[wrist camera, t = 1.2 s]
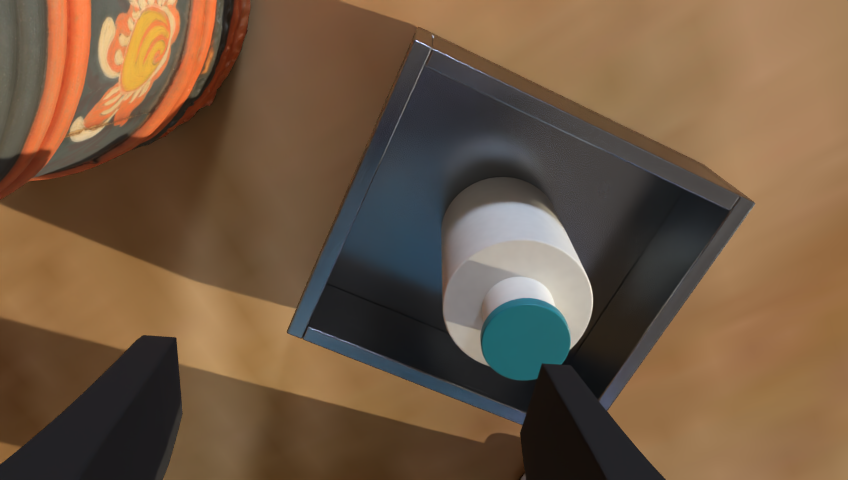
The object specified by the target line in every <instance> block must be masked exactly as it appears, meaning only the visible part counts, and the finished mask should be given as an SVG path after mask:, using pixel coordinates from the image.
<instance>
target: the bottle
mask: <svg viewBox="0 0 848 480" xmlns="http://www.w3.org/2000/svg"><path fill="white" fill-rule="evenodd" d="M441 247H442V304H443V318H444V322H445V325H446V328H447V331H448V333H449V335H450V337H451V338H452V339H453V341H454V342H455V344H456V345H457V346H458V347H459V348H460V349H461V350H462V351H463V352H464V353H466V354H467V355H468V356H469V357H471V358H473V359H474V360H476V361H478V362H480V363H482V364H484V365H487V366H490V367H491V368H492V369H493V370H494V371H496V372H497V373H499V374H500V375H502V376H504V377H507V378H510V379H514V380H534V379H537V378H538V374H539V371H540V368H541V365H542V363H544V364H559V365H561V364H562V363H563V362H564V360H565V359H566V357H567V355H568V353H569V350H570V349H571V348H572V347H573V346H574V345H575V344H576V343H577V342H578V340H579V339H580V338H581V336H582V335H583V333H584V332H585V330H586V328H587V326H588V323H589V321H590V318H591V314H592V308H593V293H592V288H591V284H590V282H589V279H588V276H587V274H586V272H585V270H584V268H583V266H582V264H581V262H580V260H579V258H578V256H577V254H576V252H575V250H574V248H573V245H572V243H571V241H570V239H569V237H568V235H567V233H566V231H565V229H564V227H563V225H562V223H561V221H560V219H559V217H558V215H557V213H556V210H555V208H554V207H553V205H552V203H551V201H550V200H549V199H548V197H547V196H546V195H545V194H544V193H543V192H542V191H541V190H540V189H538V188H537V187H535V186H534V185H532V184H530V183H528V182H526V181H523V180H521V179H516V178H511V177H494V178H488V179H484V180H481V181H479V182H476V183H474V184H472V185H470V186H469V187H467V188H466V189H464V190H463V191H462V192H460V193H459V194H458V195H457V196H456V197H455V198H454V200H453V201H452V202H451V204H450V205H449V207H448V209H447V210H446V213H445V215H444V218H443V222H442V228H441Z"/></svg>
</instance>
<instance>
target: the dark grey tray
mask: <svg viewBox="0 0 848 480" xmlns="http://www.w3.org/2000/svg"><path fill="white" fill-rule="evenodd" d="M494 177H511V178H516V179H521V180H523V181H526V182H528V183H530V184H532V185H534V186H535V187H537V188H538V189H540V190H541V191H542V192H543V193H544V194H545V195H546V196H547V197H548V199H549V200H550V201H551V203H552V205H553V207H554V208H555V210H556V213H557V215H558V217H559V219H560V221H561V223H562V225H563V227H564V229H565V231H566V233H567V235H568V237H569V239H570V241H571V243H572V245H573V248H574V250H575V252H576V254H577V256H578V258H579V260H580V262H581V264H582V266H583V268H584V270H585V272H586V274H587V276H588V279H589V282H590V284H591V288H592V293H593V308H592V314H591V318H590V321H589V323H588V326H587V328H586V330H585V332H584V333H583V335H582V336H581V338H580V339H579V340H578V342H577V343H576V344H575V345H574V346H573V347H572V348H571V349H570V350H569V353H568V355H567V357H566V359H565V360H564V362H563V363H562V364H561V365H571V366H572V367H573V369H574V370H575V371H576V372H577V374H578V375H579V376H580V378H581V379H582V380H583V381H584V383H585V384H586V385H587V387H588V388H589V389H590V390H591V392H592V393H593V394H594V395H595V397H596V398H597V399H598V401H599V402H600V403H601V404H602V406H603V407H604V408H605V409H606V411H607V410H608V409H609V408H610V406H611V405H612V403H613V402H614V401H615V399H616V398H617V396H618V395H619V394H620V392H621V391H622V389H623V388H624V387H625V385H626V384H627V383H628V381H629V380H630V378H631V377H632V376H633V374H634V373H635V371H636V370H637V369H638V367H639V366H640V364H641V363H642V362H643V360H644V359H645V357H646V356H647V355H648V353H649V352H650V350H651V349H652V348H653V346H654V345H655V343H656V342H657V341H658V339H659V338H660V336H661V335H662V334H663V332H664V331H665V329H666V328H667V327H668V325H669V324H670V322H671V321H672V320H673V318H674V317H675V315H676V314H677V313H678V311H679V310H680V308H681V307H682V306H683V304H684V303H685V301H686V300H687V299H688V297H689V296H690V294H691V293H692V292H693V290H694V289H695V287H696V286H697V285H698V283H699V282H700V280H701V279H702V278H703V276H704V275H705V273H706V272H707V271H708V269H709V268H710V266H711V265H712V264H713V262H714V261H715V259H716V258H717V257H718V255H719V254H720V252H721V251H722V250H723V248H724V247H725V245H726V244H727V243H728V241H729V240H730V239H731V237H732V236H733V234H734V233H735V232H736V230H737V229H738V227H739V226H740V225H741V223H742V222H743V220H744V219H745V218H746V216H747V215H748V213H749V212H750V211H751V209H752V208H753V206H754V205H755V203H754V202H753V201H752V200H751V199H749V198H748V197H747V196H745V195H744V194H743V193H741V192H740V191H739V190H737V189H736V188H735V187H733V186H732V185H731V184H729V183H728V182H727V181H725V180H724V179H723V178H721V177H720V176H719V175H717V174H716V173H714V172H713V171H712V170H711V169H709V168H708V167H707V166H705V165H704V164H701V163H699V162H697V161H695V160H693V159H691V158H689V157H687V156H685V155H683V154H681V153H679V152H677V151H675V150H673V149H670V148H668V147H666V146H664V145H662V144H660V143H658V142H656V141H654V140H652V139H650V138H648V137H646V136H644V135H642V134H639V133H637V132H635V131H633V130H631V129H629V128H627V127H625V126H623V125H621V124H619V123H617V122H615V121H613V120H611V119H608V118H606V117H604V116H602V115H600V114H598V113H596V112H594V111H592V110H590V109H588V108H586V107H584V106H582V105H580V104H578V103H575V102H573V101H571V100H569V99H567V98H565V97H563V96H561V95H559V94H557V93H555V92H553V91H551V90H549V89H547V88H544V87H542V86H540V85H538V84H536V83H534V82H532V81H530V80H528V79H526V78H524V77H522V76H520V75H518V74H516V73H513V72H511V71H509V70H507V69H505V68H503V67H501V66H499V65H497V64H495V63H493V62H491V61H489V60H487V59H485V58H483V57H480V56H478V55H476V54H474V53H472V52H470V51H468V50H466V49H464V48H462V47H460V46H458V45H456V44H454V43H452V42H449V41H447V40H445V39H443V38H441V37H439V36H437V35H435V34H433V33H431V32H429V31H427V30H425V29H423V28H421V27H417V30H416V32H415V34H414V36H413V39H412V41H411V43H410V46H409V48H408V50H407V53H406V55H405V57H404V60H403V62H402V64H401V66H400V69H399V71H398V73H397V76H396V78H395V80H394V83H393V85H392V87H391V89H390V92H389V94H388V96H387V99H386V101H385V103H384V106H383V108H382V110H381V113H380V115H379V117H378V119H377V122H376V124H375V126H374V129H373V131H372V133H371V136H370V138H369V140H368V143H367V145H366V147H365V149H364V152H363V154H362V156H361V159H360V161H359V163H358V166H357V168H356V170H355V173H354V175H353V177H352V179H351V182H350V184H349V186H348V189H347V191H346V193H345V196H344V198H343V200H342V203H341V205H340V207H339V209H338V212H337V214H336V216H335V219H334V221H333V223H332V226H331V228H330V230H329V232H328V235H327V237H326V239H325V242H324V244H323V246H322V249H321V251H320V253H319V256H318V258H317V260H316V262H315V265H314V267H313V269H312V272H311V274H310V276H309V279H308V281H307V283H306V286H305V288H304V291H303V293H302V296H301V298H300V301H299V303H298V305H297V308H296V310H295V313H294V315H293V318H292V320H291V323H290V325H289V327H288V330H287V333H288V334H291V335H293V336H296V337H298V338H302V337H303V340H306V341H309V342H311V343H314V344H316V345H319V346H321V347H324V348H326V349H329V350H332V351H334V352H337V353H339V354H342V355H344V356H347V357H349V358H352V359H355V360H357V361H360V362H362V363H365V364H367V365H370V366H373V367H375V368H378V369H380V370H383V371H385V372H388V373H390V374H393V375H396V376H398V377H401V378H403V379H406V380H408V381H411V382H413V383H416V384H419V385H421V386H424V387H426V388H429V389H431V390H434V391H436V392H439V393H442V394H444V395H447V396H449V397H452V398H454V399H457V400H460V401H462V402H465V403H467V404H470V405H472V406H475V407H477V408H480V409H483V410H485V411H488V412H490V413H493V414H495V415H498V416H500V417H503V418H506V419H508V420H511V421H513V422H516V423H518V424H521V425H523V422H524V419H525V416H526V413H527V410H528V406H529V403H530V400H531V397H532V394H533V390H534V387H535V384H536V381H537V379H534V380H514V379H510V378H507V377H504V376H502V375H500V374H499V373H497V372H496V371H494V370H493V369H492V368H491V367H490V366H487V365H484V364H482V363H480V362H478V361H476V360H474V359H473V358H471V357H469V356H468V355H467V354H466V353H464V352H463V351H462V350H461V349H460V348H459V347H458V346H457V345H456V344H455V342H454V341H453V339H452V338H451V337H450V335H449V333H448V331H447V328H446V325H445V322H444V318H443V304H442V247H441V228H442V222H443V218H444V215H445V213H446V210H447V209H448V207H449V205H450V204H451V202H452V201H453V200H454V198H455V197H456V196H457V195H458V194H459V193H460V192H462V191H463V190H464V189H466V188H467V187H469V186H470V185H472V184H474V183H476V182H479V181H481V180H484V179H488V178H494Z"/></svg>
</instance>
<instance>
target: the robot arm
mask: <svg viewBox="0 0 848 480" xmlns="http://www.w3.org/2000/svg"><path fill="white" fill-rule="evenodd" d="M182 414H183V413H182V401H181V389H180V377H179V365H178V354H177V342H176V338H175V337H161V336H147V335H143V336H141V337H140V338H139V339H137V340H136V341H135V342H134V343H133V344H132V345H131V346H130V347H129V348H128V349H127V350H126V351H125V352H124V354H123V355H122V356H121V357H120V358H119V359H118V360H117V361H116V362H115V363H114V364H113V365H112V366H111V367H110V368H109V369H108V370H107V371H105V372H104V373H103V374H102V375H101V376H100V377H99V378H98V379H97V380H96V381H95V382H94V383H93V384H92V385H91V386H90V387H89V388H88V389H87V390H86V391H85V392H84V393H83V394H81V395H80V396H79V397H78V398H77V399H76V400H75V401H74V402H73V403H72V404H71V405H70V406H69V407H67V408H66V409H65V410H64V411H63V412H62V413H61V414H60V415H59V416H58V417H56V418H55V419H54V420H53V421H52V422H51V423H50V424H48V425H47V426H46V427H45V428H44V429H43V430H41V431H40V432H39V433H38V434H37V435H35V436H34V437H33V438H32V439H31V440H30V441H28V442H27V443H26V444H25V445H24V446H22V447H21V448H20V449H19V450H18V451H17V452H15V453H14V454H13V455H12V456H10V457H9V458H8V459H7V460H5V461H4V462H3V463H2V464H0V480H163V478H164V475H165V473H166V470H167V468H168V465H169V462H170V458H171V455H172V451H173V448H174V444H175V441H176V437H177V433H178V429H179V425H180V422H181V418H182ZM520 436H521V444H522V453H523V462H524V469H525V473H524V475H523V476H522V478H521V479H520V480H665V478H664V477H663V476H662V475H661V474H660V473H659V472H658V471H657V470H656V469H655V468H654V467H653V466H652V464H651V463H650V462H649V461H648V460H647V459H646V458H645V456H644V455H643V454H642V453H641V452H640V451H639V450H638V448H637V447H636V446H635V445H634V444H633V443H632V441H631V440H630V439H629V438H628V437H627V435H626V434H625V433H624V432H623V431H622V429H621V428H620V427H619V426H618V424H617V423H616V422H615V421H614V420H613V418H612V417H611V416H610V415H609V413H608V412H607V411H606V409H605V408H604V407H603V406H602V404H601V403H600V402H599V401H598V399H597V398H596V397H595V395H594V394H593V393H592V392H591V390H590V389H589V388H588V387H587V385H586V384H585V383H584V381H583V380H582V379H581V378H580V376H579V375H578V374H577V372H576V371H575V370H574V369H573V367H572V366H571V365H559V364H544V363H542V365H541V368H540V371H539V374H538V378H537V381H536V384H535V387H534V390H533V394H532V397H531V400H530V403H529V406H528V410H527V413H526V416H525V419H524V422H523V426H522V429H521V432H520Z"/></svg>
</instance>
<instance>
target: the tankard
mask: <svg viewBox="0 0 848 480" xmlns="http://www.w3.org/2000/svg"><path fill="white" fill-rule="evenodd" d="M250 7H251V6H250V0H0V200H1V199H2V198H4V197H6V196H8V195H9V194H11V193H12V192H14V191H16V190H17V189H18V188H20V187H21V186H23V185H24V184H25V183H27V182H28V181H37V180H45V179H53V178H57V177H63V176H67V175H71V174H75V173H79V172H82V171H84V170H87V169H90V168H93V167H96V166H98V165H100V164H103V163H105V162H107V161H109V160H111V159H113V158H116V157H118V156H120V155H122V154H124V153H126V152H128V151H130V150H133V149H135V148H137V147H140V146H143V145H147V144H150V143H152V142H154V141H155V140H157V139H159V138H161V137H164V136H166V135H167V134H168V133H169V132H171V131H173V130H174V129H175V128H176V127H177V126H178V125H180V124H182V123H184V122H187V121H189V120H190V119H191V118H192V117H194V115H195V113H196V112H198V110H199V109H200V108H202V107H205V106H210V105H211V104H212V102H213V100H214V98H215V94H216V90H217V88H219V87H221V84H222V82H223V81H224V80H225V78H226V77H227V76H228V74H229V72H230V70H231V68H232V66H233V64H234V63H235V61H236V59H237V57H238V55H239V53H240V51H241V48H242V44H243V41H244V38H245V35H246V33H247V26H248V18H249V13H250Z"/></svg>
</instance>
